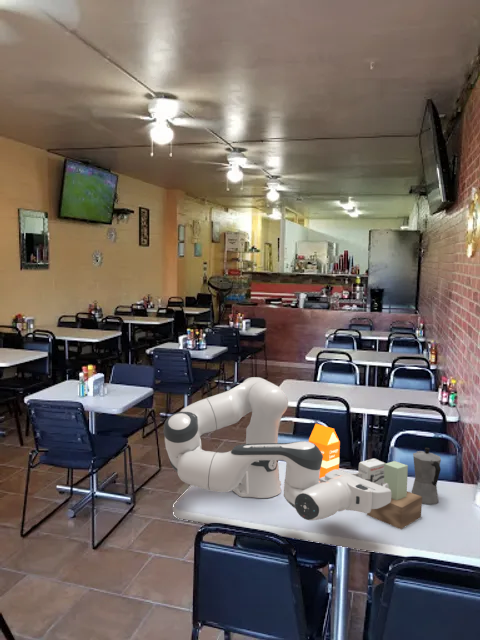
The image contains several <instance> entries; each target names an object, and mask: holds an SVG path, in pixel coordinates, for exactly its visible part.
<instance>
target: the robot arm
mask: <svg viewBox="0 0 480 640" xmlns="http://www.w3.org/2000/svg"><path fill="white" fill-rule="evenodd" d="M288 406H289V399H288V396H287V394H286V393H285V392H284V390H283V389H282V388H281V387H280V386H279V385H277V384H275V383H273V382H271V381H268V380H267V379H264V378H263V377H259V376H258V377H257V376H256V377H255V376H253V377H248V378H246V379H245V380H243V381H242V382H241V383H239V384H238V385H236V386H235V387H233V388H231V389H228V390H226V391H224V392H220V393H218V394H215V395H212V396H209V397H206V398H203V399H200V400H198V401H196V402H192V403H190V404H189V405H187V406H185V407H183V408H182V409H181V410H180V411H179V412H175V413H173V414H171V415H170V416H168V417H167V418H166V420H165V421H164V424H163V436H164V444H165V450H166V452H167V455H168V458H169V459H168V460H169V463H170V466H171V468H172V469H173V470H174V471H175V472H176V473H177V475H178V478H179V479H180V480H181V481H182V482H183V483H185V484H188V485H189V486H193V487H196V488H198V489H202V490H207V491H212V492H216V493H229V492H231V491H233V492H234V493H235V494H236V495H237V496H238V497H240V498H257V499H267V498H268V499H269V498H274V497H276V496H277V495H280V494H281V492H282V489H281V485H282V481H281V480H280V469H279V463H278V462H279V461H284V462H285V463H286V466H285V476H284V477H285V478H284V482H283V483H284V484H283V485H284V486H283V497H284V499H285V501H286V502H287V503H288V504H289V505H290V506H291V507H293V508H294V509H295V511H296V512H297V514H298V516H300V517H301V518H302V519H304V520H306V521H319V520H323V519H327V518H329V517H331V516H334V515H335V514H337V513H338V512H343V511H353V512H359V513H363V514H367V513H370V512H371V509H378V508H381V507H383V506H385V505H387V504H389V503H390V502H391V490H390V489H388V487H389V484H387V483H384V482H383V483H381V485H378V484H375V483H373V482H370V481H368V480H365V479H362V474H360V473H358V472H348V471H347V472H346V471H344V470H341V469H339V470H338V469H335V470H332V471H330V472H328V473H326V474H325V477H321V478H320V479H319V476H320V469H321V465H322V460H323V455H322V453H321V451H320V450H319V448H318V447H317V446H316V445H315V444H314V443H312V442H309V441H307V440H306V441H305V440H303V441H292V442H291V441H290V442H278V441H279V438H278V437H279V429H280V424H281V420H282V416H283V415H284V414H285V413H286V411H287V409H288ZM249 413H251V418H250V421H249V424H248V425H247V427H246V429H245V430H246V434H245V435H246V436H245V437H246V438H245V443H243V444H238V445H235V446H233V448H232V449H231V450H229V451H226V452H219V451H217V452H216V451H210V450H204V449H202V440H201V436H202V435H204V434H208V433H211V432H214V431H216V430H217V431H218V430H220V429H223V428H226V427H228V426H231V425H234V424H237V423H239V422H240V420H241V418H242V417H243V418H244V417H245V416H246V415H247V414H249ZM319 481H320V482H319Z"/></svg>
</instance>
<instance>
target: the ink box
mask: <svg viewBox="0 0 480 640" xmlns="http://www.w3.org/2000/svg"><path fill="white" fill-rule="evenodd" d="M385 464H386V462H384V461H381V460H379V459H377V458H370V459H366V460H363V461H360V462H359V463H358V470H357V471H358V473H360V474H362V479H365V480H368V481H370V482H373V483H375V484H378V485H381V483H383V482H384V465H385Z"/></svg>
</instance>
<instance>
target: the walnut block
mask: <svg viewBox="0 0 480 640" xmlns="http://www.w3.org/2000/svg"><path fill="white" fill-rule="evenodd" d="M422 505H423V504H422V497H421V496H419V495H416V494H413V493H412V492H411V491H407V497H404V498H402V499H399V500H395V499H392V498H391V502H390V503H389V504H387V505H385V506H383V507H381V508H378V509H371V512H370V513H366V516H368V517H370V518H373V519H376V520H378V521H380V522H383V523H385V524H388V525H390V526H392V527H395V528H397V529H399V530H402V529H404V528H406V527H407V526H409V525H410V524H412V523H414V522H416V521H417V520H419V519H420V518H422V507H423V506H422ZM405 526H406V527H405Z"/></svg>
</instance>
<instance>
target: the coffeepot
mask: <svg viewBox="0 0 480 640" xmlns="http://www.w3.org/2000/svg"><path fill="white" fill-rule="evenodd" d="M412 457H413V468H414V475H415V478H414V481H413V486H412V489H411V493H413V494H416V495H419V496H421V497H422V505H426V506H427V505H430V506H431V505H436V504H438V503H439V497H438V496H439V495H438V489H437V488H438V487H437V484H438V481H439V477H440V474H441V469H442V468H441V461H442V459H441V456H440V455H437V454H435V453H434V452H430V448H429V447H424V451H423V450H419V451H418V450H416V452H413V453H412Z"/></svg>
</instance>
